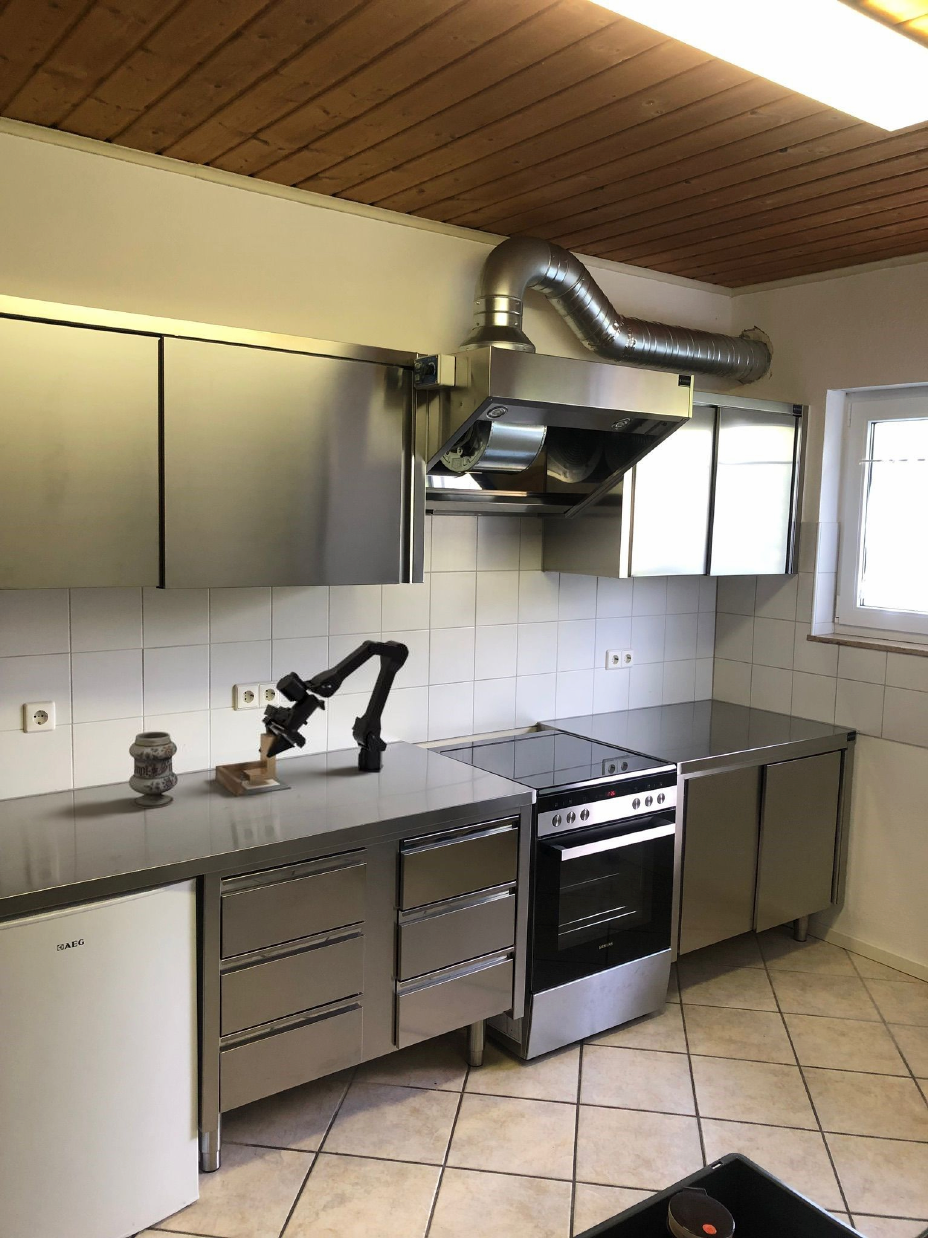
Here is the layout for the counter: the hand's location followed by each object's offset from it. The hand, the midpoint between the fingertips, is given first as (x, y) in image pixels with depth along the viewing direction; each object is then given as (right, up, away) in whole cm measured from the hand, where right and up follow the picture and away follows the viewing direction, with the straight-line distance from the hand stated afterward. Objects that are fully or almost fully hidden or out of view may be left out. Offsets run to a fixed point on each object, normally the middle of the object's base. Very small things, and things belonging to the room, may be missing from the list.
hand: (263, 754), depth 267 cm
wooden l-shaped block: (-1, -7, 0) cm, 7 cm away
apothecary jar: (-25, -10, -17) cm, 32 cm away
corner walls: (-3, -8, +1) cm, 9 cm away
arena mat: (-2, -8, +1) cm, 9 cm away
